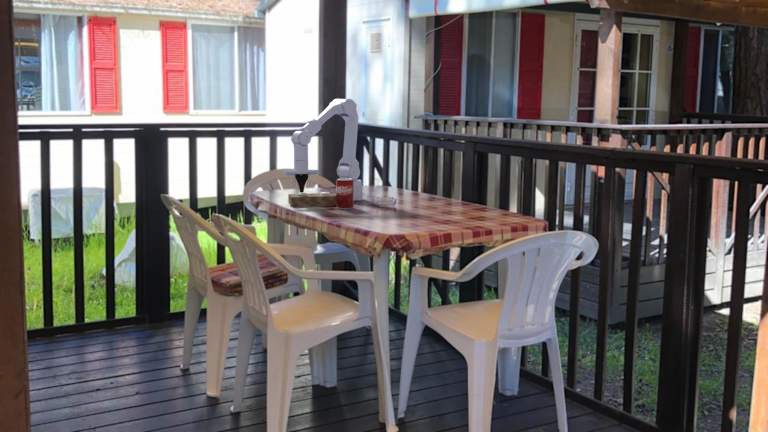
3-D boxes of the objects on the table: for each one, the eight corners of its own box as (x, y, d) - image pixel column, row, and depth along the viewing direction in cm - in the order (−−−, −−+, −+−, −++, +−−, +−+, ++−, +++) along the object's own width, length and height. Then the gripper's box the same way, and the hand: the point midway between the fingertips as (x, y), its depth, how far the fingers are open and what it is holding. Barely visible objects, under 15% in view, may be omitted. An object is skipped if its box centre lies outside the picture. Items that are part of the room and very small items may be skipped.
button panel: (334, 202, 356) (334, 192, 356) (339, 205, 347) (339, 195, 346) (288, 203, 352) (288, 194, 351) (291, 206, 342) (291, 197, 341)
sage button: (306, 201, 350) (306, 192, 350) (307, 202, 346) (307, 193, 346) (295, 201, 349) (295, 192, 349) (297, 203, 345) (297, 194, 345)
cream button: (329, 200, 353) (329, 191, 352) (331, 202, 348) (331, 193, 348) (319, 200, 352) (319, 192, 351) (320, 202, 347) (320, 193, 347)
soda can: (351, 209, 335) (351, 180, 333) (334, 209, 336) (334, 180, 334) (355, 207, 342) (355, 178, 340) (338, 206, 343) (338, 177, 341)
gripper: (316, 158, 350) (317, 190, 353) (282, 159, 347) (283, 191, 349) (319, 160, 344) (320, 192, 346) (284, 160, 340) (285, 193, 342)
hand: (301, 192), depth 347 cm, fingers closed
